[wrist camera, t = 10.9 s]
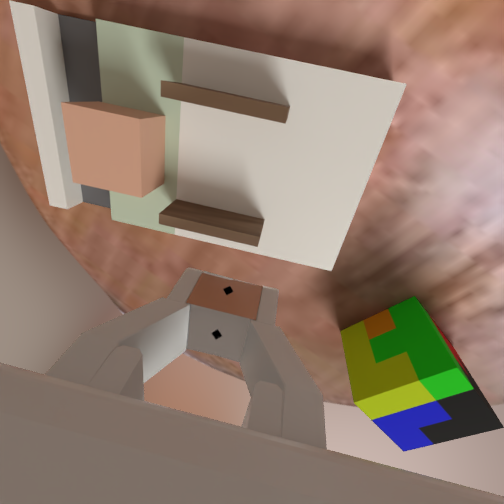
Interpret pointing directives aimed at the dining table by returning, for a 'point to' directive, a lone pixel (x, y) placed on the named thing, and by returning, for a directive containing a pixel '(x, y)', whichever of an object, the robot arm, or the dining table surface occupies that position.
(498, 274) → the dining table surface
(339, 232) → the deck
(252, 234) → the channel walls
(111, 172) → the block
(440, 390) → the puzzle toy
